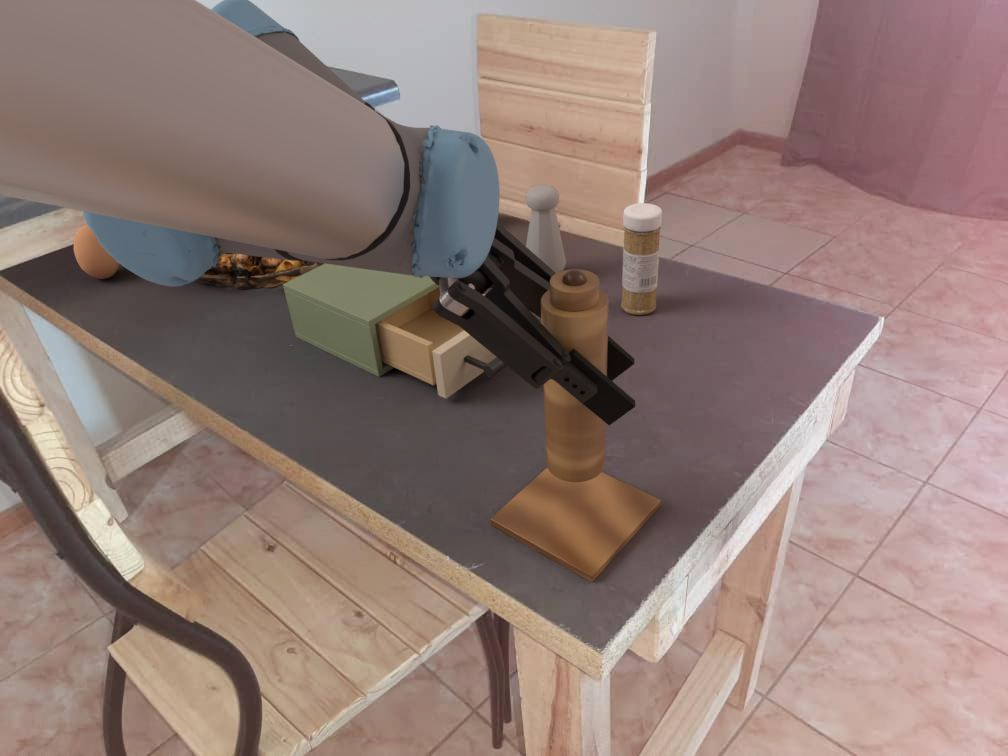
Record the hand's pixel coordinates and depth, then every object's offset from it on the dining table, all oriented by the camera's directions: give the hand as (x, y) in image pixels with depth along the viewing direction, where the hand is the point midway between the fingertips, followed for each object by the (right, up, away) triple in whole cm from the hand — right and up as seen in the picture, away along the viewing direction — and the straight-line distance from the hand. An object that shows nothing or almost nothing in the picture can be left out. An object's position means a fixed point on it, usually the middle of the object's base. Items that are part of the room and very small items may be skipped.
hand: (621, 390), depth 62 cm
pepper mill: (-3, -6, +5) cm, 9 cm away
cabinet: (-25, +7, +37) cm, 46 cm away
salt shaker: (-4, +15, +46) cm, 49 cm away
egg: (-69, +16, +55) cm, 89 cm away
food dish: (-45, +22, +61) cm, 79 cm away
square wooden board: (-3, -11, +8) cm, 15 cm away
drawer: (-15, +4, +30) cm, 34 cm away
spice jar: (+8, +10, +38) cm, 40 cm away
